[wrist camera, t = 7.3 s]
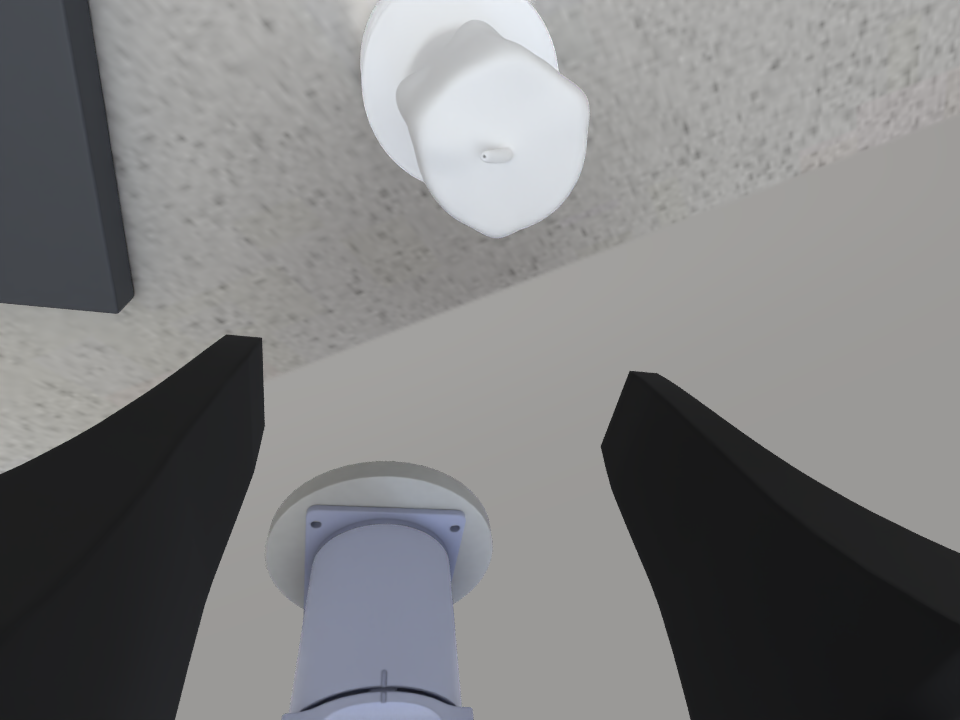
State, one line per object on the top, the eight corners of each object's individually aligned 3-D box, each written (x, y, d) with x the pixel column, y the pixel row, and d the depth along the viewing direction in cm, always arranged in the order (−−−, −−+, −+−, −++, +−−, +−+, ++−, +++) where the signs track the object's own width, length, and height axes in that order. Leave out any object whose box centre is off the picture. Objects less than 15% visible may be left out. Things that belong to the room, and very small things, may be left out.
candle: (349, 139, 18) (284, 310, 8) (374, -61, 15) (324, -185, 5) (507, 176, 19) (623, 364, 9) (555, -4, 17) (795, -16, 6)
